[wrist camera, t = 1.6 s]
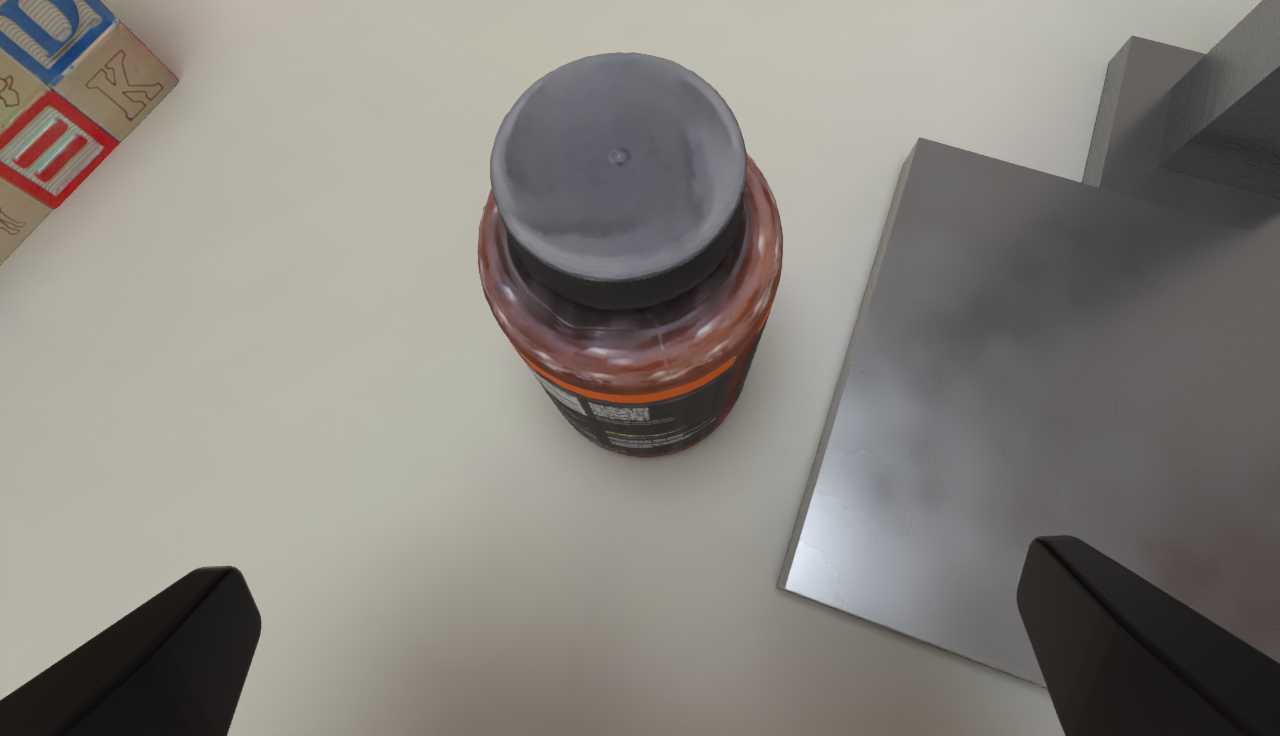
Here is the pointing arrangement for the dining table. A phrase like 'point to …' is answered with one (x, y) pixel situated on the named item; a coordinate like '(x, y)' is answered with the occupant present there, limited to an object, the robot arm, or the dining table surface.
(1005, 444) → the arbor press
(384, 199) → the dining table surface
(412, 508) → the dining table surface
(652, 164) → the supplement bottle
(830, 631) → the dining table surface
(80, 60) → the stack of blocks
